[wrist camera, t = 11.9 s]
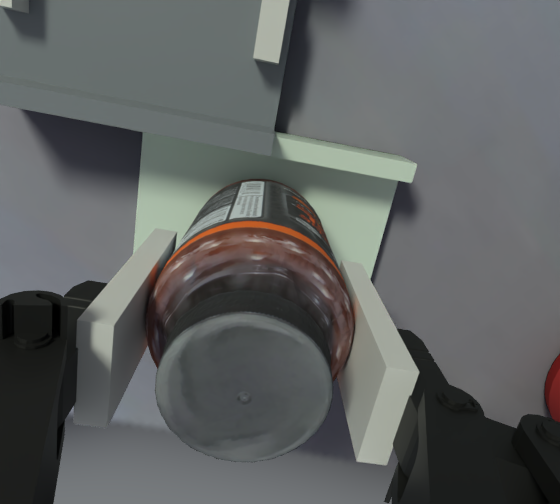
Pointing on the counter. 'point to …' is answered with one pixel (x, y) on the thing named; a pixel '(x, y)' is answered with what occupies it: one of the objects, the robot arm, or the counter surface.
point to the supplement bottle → (249, 325)
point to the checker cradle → (151, 65)
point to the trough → (282, 168)
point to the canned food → (553, 390)
